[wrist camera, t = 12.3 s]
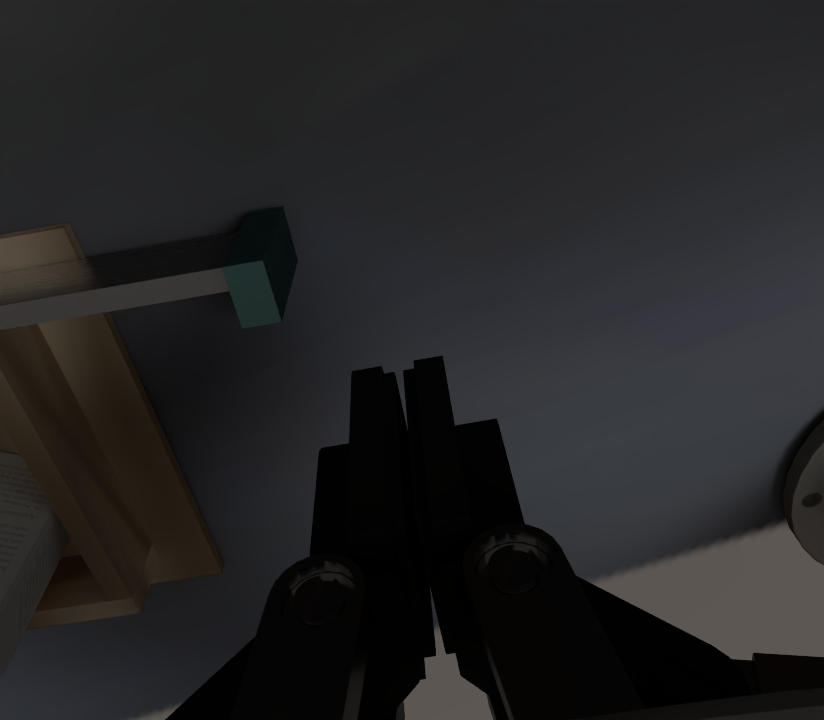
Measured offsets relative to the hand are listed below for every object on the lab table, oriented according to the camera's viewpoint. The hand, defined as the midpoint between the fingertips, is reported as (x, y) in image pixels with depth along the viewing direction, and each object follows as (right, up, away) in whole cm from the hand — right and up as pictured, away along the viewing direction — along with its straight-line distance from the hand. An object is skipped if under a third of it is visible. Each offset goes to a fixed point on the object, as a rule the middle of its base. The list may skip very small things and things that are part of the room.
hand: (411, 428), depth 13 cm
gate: (-10, +5, +11) cm, 16 cm away
